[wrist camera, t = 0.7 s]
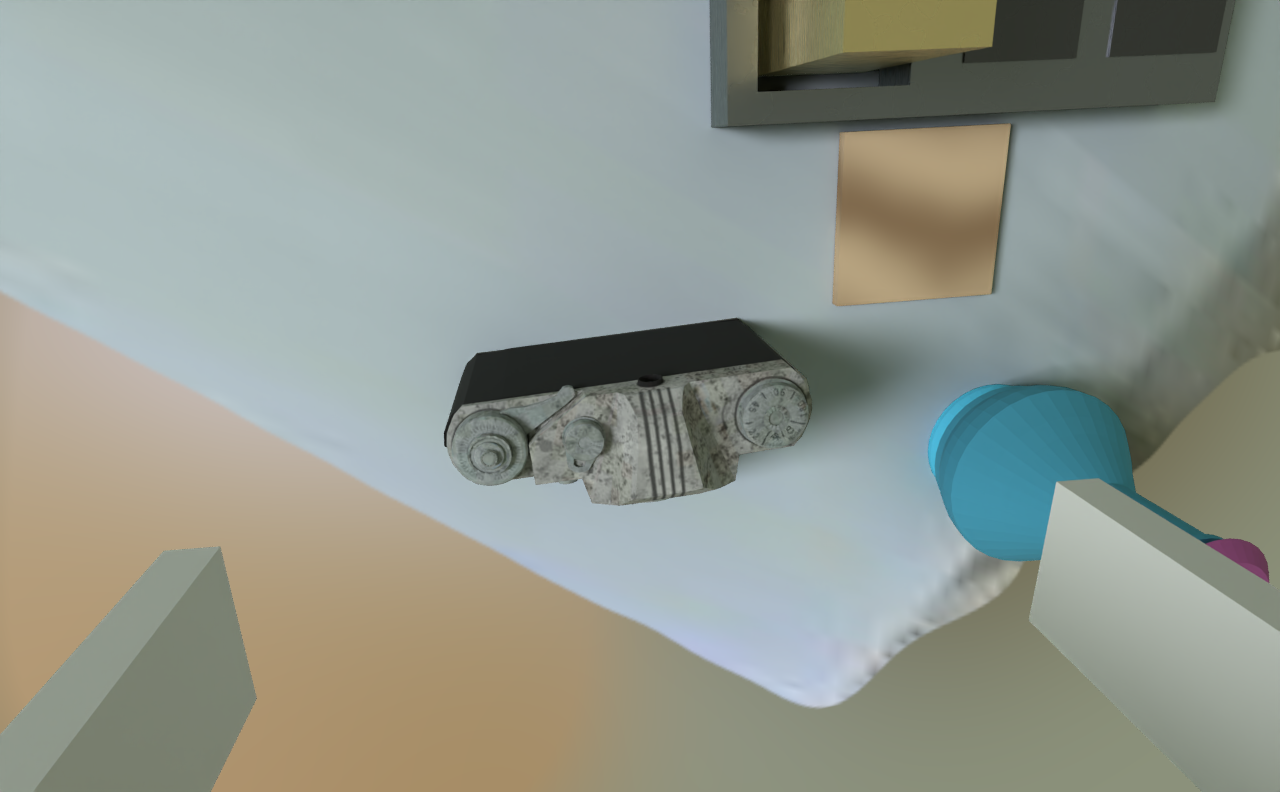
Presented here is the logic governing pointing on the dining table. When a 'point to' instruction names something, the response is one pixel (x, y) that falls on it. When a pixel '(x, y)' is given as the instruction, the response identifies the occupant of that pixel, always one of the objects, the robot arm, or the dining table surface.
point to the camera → (627, 411)
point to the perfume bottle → (1036, 467)
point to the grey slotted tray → (998, 64)
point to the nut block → (866, 33)
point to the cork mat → (918, 212)
